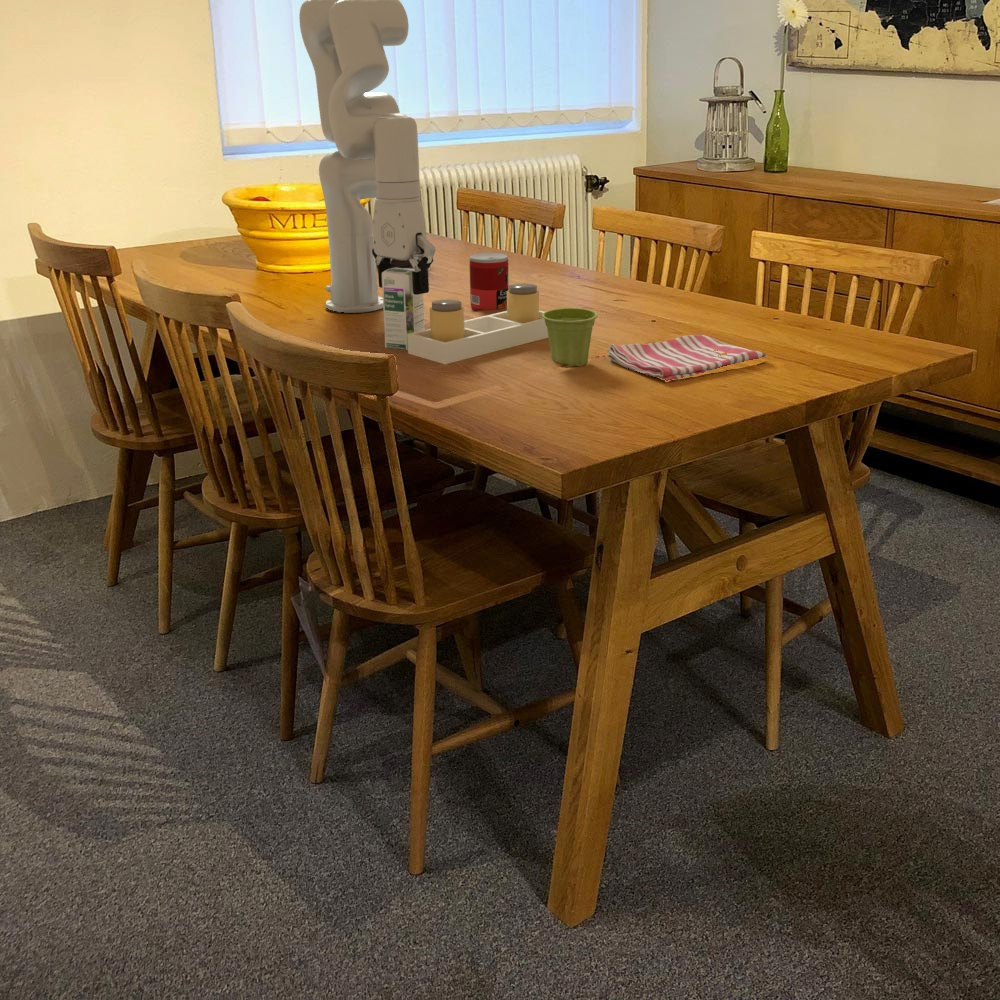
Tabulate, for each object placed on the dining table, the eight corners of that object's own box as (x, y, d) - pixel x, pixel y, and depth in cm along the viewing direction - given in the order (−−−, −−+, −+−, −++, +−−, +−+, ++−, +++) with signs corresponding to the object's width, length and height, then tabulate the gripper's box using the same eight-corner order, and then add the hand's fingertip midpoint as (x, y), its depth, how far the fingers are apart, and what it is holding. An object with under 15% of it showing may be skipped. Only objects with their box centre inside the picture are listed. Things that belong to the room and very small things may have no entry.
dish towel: (603, 363, 201) (604, 343, 200) (708, 344, 212) (709, 326, 211) (662, 387, 188) (663, 366, 186) (771, 366, 198) (772, 346, 197)
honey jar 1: (424, 353, 204) (422, 303, 201) (449, 346, 208) (448, 297, 204) (446, 359, 200) (444, 308, 196) (472, 352, 204) (470, 302, 200)
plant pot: (580, 373, 194) (581, 323, 190) (532, 366, 198) (532, 316, 195) (605, 360, 201) (607, 311, 198) (558, 353, 206) (559, 305, 202)
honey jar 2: (500, 334, 216) (500, 286, 212) (523, 328, 219) (523, 281, 216) (522, 339, 212) (522, 291, 208) (545, 333, 215) (545, 286, 212)
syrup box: (384, 351, 208) (379, 271, 203) (398, 343, 213) (395, 265, 208) (412, 354, 206) (408, 273, 201) (426, 346, 211) (423, 267, 206)
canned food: (504, 314, 234) (504, 260, 230) (466, 313, 235) (465, 259, 231) (512, 305, 241) (511, 253, 237) (474, 304, 242) (473, 252, 238)
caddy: (408, 357, 204) (407, 333, 203) (523, 328, 222) (523, 306, 221) (445, 368, 198) (444, 344, 196) (561, 338, 216) (561, 315, 214)
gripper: (351, 190, 202) (357, 287, 209) (413, 197, 191) (418, 299, 197) (384, 186, 207) (390, 281, 213) (447, 192, 195) (451, 293, 202)
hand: (403, 290), depth 205 cm, fingers open, 9 cm apart
